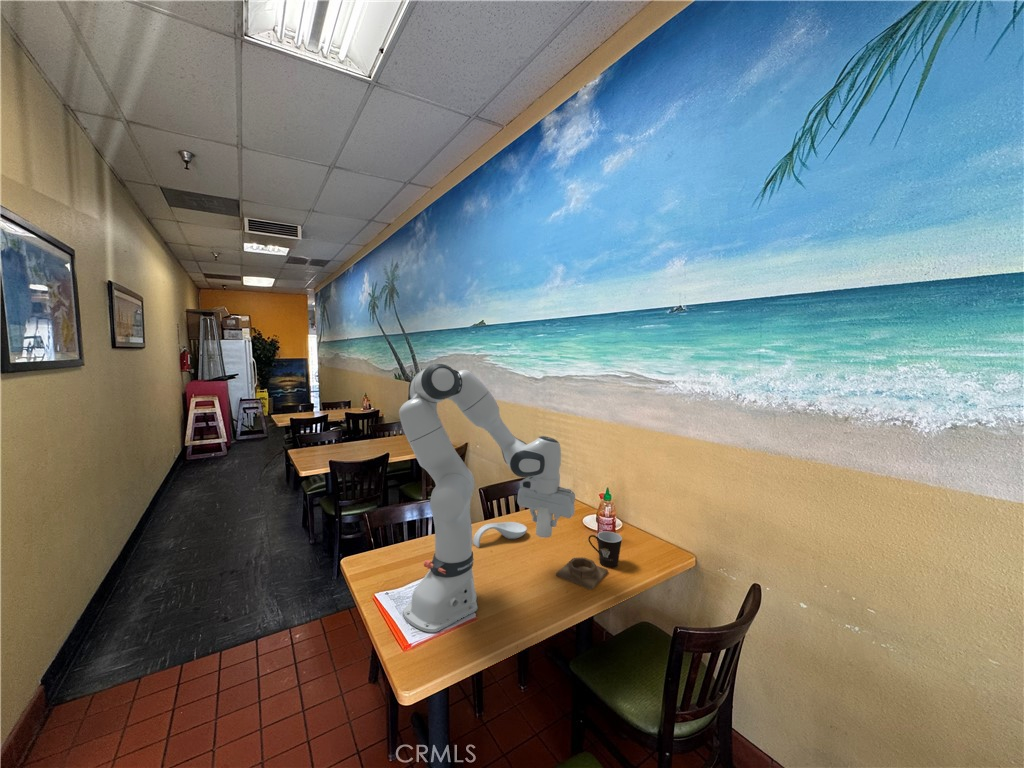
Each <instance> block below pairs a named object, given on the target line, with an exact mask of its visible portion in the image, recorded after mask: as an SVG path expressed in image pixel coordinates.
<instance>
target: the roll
mask: <svg viewBox="0 0 1024 768" xmlns="http://www.w3.org/2000/svg"><path fill="white" fill-rule="evenodd" d="M548 509H549V508H544V507H540V506H538V510H536V515H537V522H535V523H536V527H535V535H536V536H537V537H539V538H544V539H545V538H550V537H552V535H553V534H552V532H553V527H552V526H551V521H552V520H554V514H550V513H549V512H548Z"/></svg>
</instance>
